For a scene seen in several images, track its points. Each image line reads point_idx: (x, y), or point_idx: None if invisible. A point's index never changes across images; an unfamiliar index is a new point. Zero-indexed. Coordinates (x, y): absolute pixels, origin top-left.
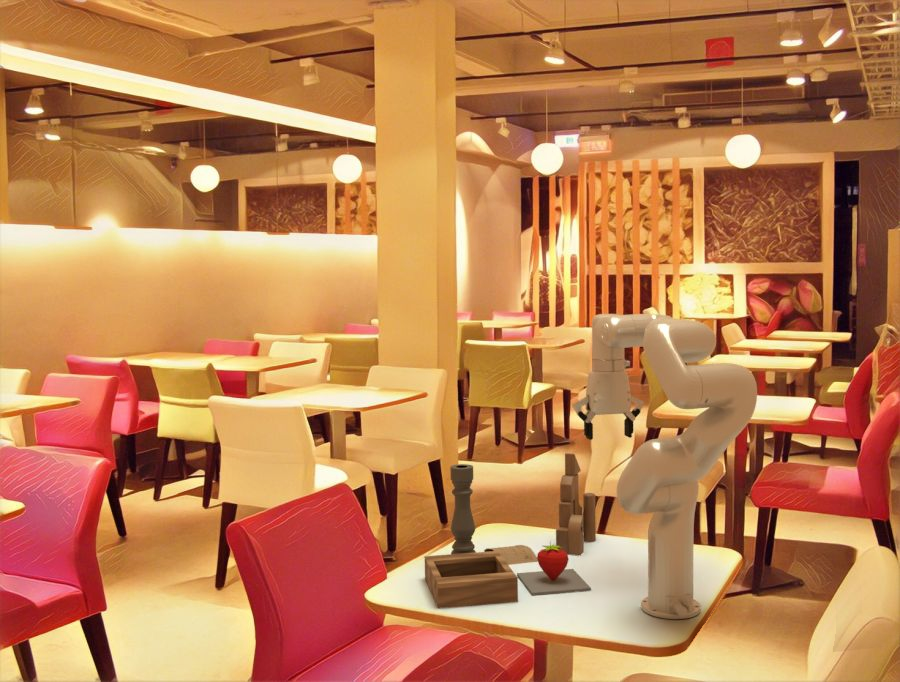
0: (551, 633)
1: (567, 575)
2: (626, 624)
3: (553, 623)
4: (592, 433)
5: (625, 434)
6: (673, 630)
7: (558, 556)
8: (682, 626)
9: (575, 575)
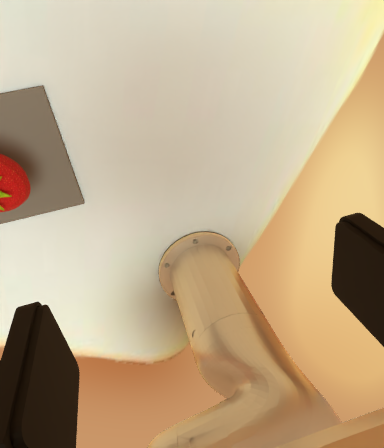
0: None
1: (32, 132)
2: (130, 316)
3: None
4: (74, 408)
5: (340, 242)
6: None
7: (4, 210)
8: None
9: (50, 134)
